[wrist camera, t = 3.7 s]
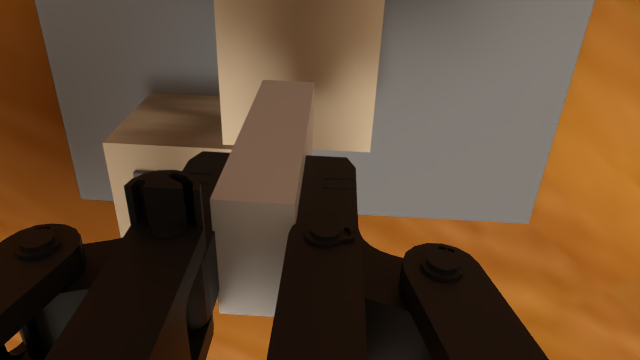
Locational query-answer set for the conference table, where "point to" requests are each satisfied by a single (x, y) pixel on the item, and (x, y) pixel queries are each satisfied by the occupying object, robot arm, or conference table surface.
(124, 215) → the marked block
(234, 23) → the plain block
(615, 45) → the conference table surface
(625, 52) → the conference table surface
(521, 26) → the mat
